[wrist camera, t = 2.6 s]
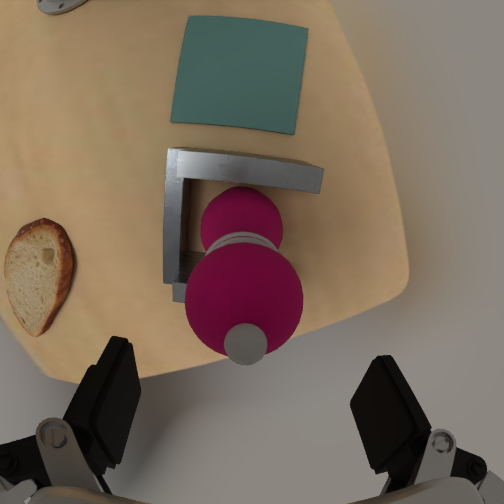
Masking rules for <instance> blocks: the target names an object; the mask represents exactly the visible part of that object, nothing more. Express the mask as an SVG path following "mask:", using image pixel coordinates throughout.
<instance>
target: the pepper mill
mask: <svg viewBox="0 0 504 504" xmlns="http://www.w3.org/2000/svg"><path fill="white" fill-rule="evenodd" d="M282 233H283V227H282V221H281V217H280V214H279V211H278V209H277V208H276V206H275V205H274V203H273V202H272V201H271V200H270V199H269V198H267V197H266V196H265V195H263V194H261V193H260V192H258V191H257V190H255V189H253V188H249V187H242V186H239V187H233V188H230V189H227V190H226V191H224V192H223V193H221V194H220V195H218V196H217V197H215V198H214V199H213V200H212V201H211V202H210V203H209V205H208V206H207V208H206V209H205V211H204V214H203V216H202V220H201V234H200V235H201V240H202V243H203V246H204V249H205V251H206V254H205V256H204V257H203V258H202V259H201V260H200V261H199V262H198V264H197V265H196V267H195V268H194V270H193V271H192V273H191V275H190V277H189V279H188V282H187V286H186V291H185V309H186V315H187V318H188V321H189V324H190V326H191V328H192V329H193V331H194V333H195V334H196V335H197V337H198V338H199V339H200V340H201V341H202V342H203V343H204V344H205V345H206V346H208V347H209V348H211V349H212V350H214V351H215V352H218V353H220V354H223V355H225V356H228V357H229V358H230V359H231V360H232V361H234V362H235V363H237V364H240V365H251V364H254V363H256V362H258V361H259V360H260V359H262V357H263V356H264V355H265V354H268V353H270V352H272V351H274V350H276V349H278V348H279V347H280V346H282V345H283V344H284V343H285V342H286V341H287V340H288V339H289V338H290V337H291V336H292V334H293V333H294V331H295V329H296V327H297V326H298V324H299V322H300V318H301V314H302V311H303V291H302V286H301V282H300V280H299V278H298V276H297V274H296V272H295V270H294V268H293V267H292V266H291V264H290V263H289V262H288V260H287V259H285V258H284V257H283V256H282V255H281V254H280V253H279V251H278V248H279V246H280V243H281V240H282Z"/></svg>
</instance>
